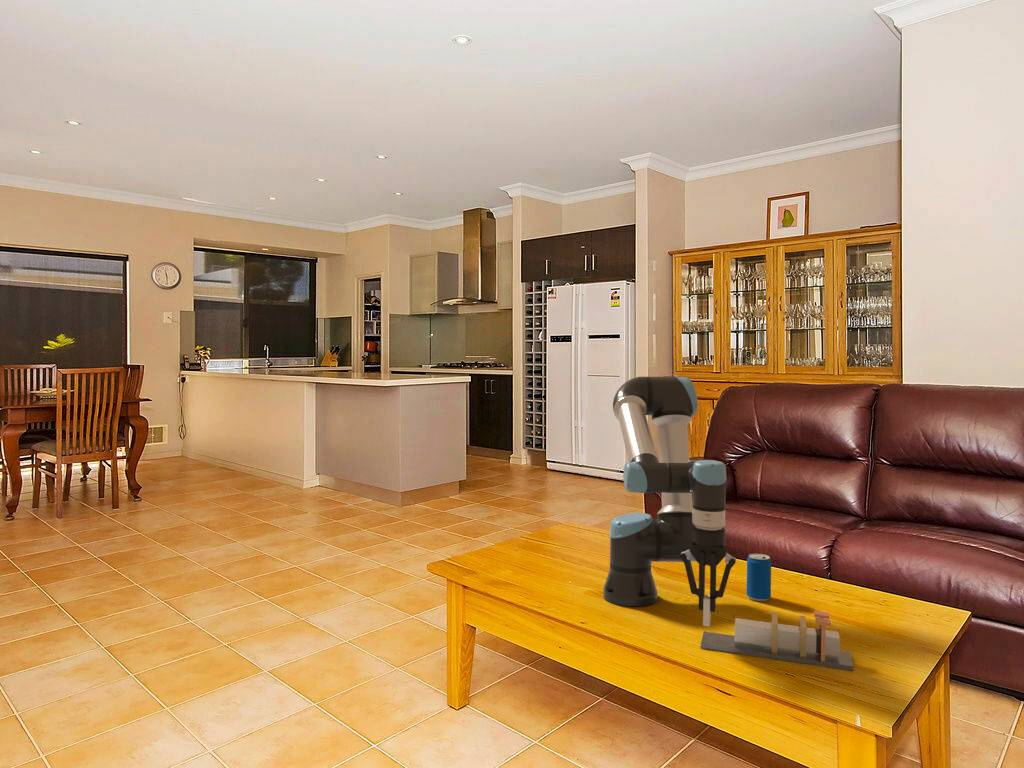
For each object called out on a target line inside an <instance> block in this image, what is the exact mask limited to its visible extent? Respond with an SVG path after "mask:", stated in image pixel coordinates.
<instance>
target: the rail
mask: <svg viewBox="0 0 1024 768" xmlns="http://www.w3.org/2000/svg"><path fill="white" fill-rule="evenodd" d="M771 623H772V645H771V646H764V645H757V644H750V643H743V642H736V641H734V640H735V635H733V634H725V633H717V632H710V631H705V630H704V631H703V634H702V637H701V642H700V649H703V650H710V651H717V652H725V653H732V654H737V655H744V656H752V657H757V658H764V659H771V660H776V661H783V662H791V663H798V664H804V665H811V666H817V667H824V668H829V669H830V668H832V669H836V670H837V669H838V670H844V671H850V672H851V671H852V672H853V671H854V668H855V667H854V663H853V660H852V656H851V652H850V651H846V650H841V649H840V650H839V656H834V655H827V654H825V661H821V654H818V653H813V652H806V640H807V628H808V627H807V620H806V616H805V615H799V624H798V625H799V627H800V629H801V632H800V651H799V650H792V649H785V648H778V647H777V630H778V624H779V623H778V612H776V611H771Z"/></svg>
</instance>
